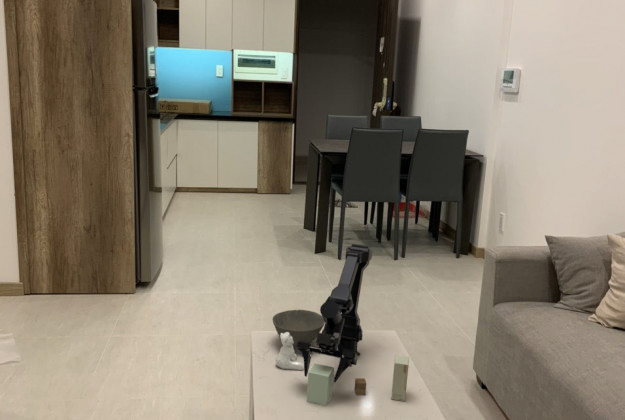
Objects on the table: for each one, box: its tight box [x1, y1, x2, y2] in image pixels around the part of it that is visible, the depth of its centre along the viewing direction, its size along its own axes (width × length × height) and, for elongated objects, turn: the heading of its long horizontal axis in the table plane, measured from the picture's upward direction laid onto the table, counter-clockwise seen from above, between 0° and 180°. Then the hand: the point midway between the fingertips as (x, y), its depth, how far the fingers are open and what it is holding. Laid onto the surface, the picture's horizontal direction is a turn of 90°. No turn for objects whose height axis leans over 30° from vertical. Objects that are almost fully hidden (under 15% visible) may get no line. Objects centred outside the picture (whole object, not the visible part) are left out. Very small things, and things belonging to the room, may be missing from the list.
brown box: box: [354, 377, 367, 396], centre depth 194 cm, size 3×3×4 cm
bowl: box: [272, 309, 325, 349], centre depth 223 cm, size 19×19×10 cm
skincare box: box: [390, 354, 410, 402], centre depth 192 cm, size 6×4×12 cm
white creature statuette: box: [275, 332, 304, 371], centre depth 207 cm, size 10×9×12 cm
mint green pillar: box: [306, 363, 335, 407], centre depth 188 cm, size 6×6×10 cm
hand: (319, 379), depth 186 cm, fingers open, 9 cm apart
